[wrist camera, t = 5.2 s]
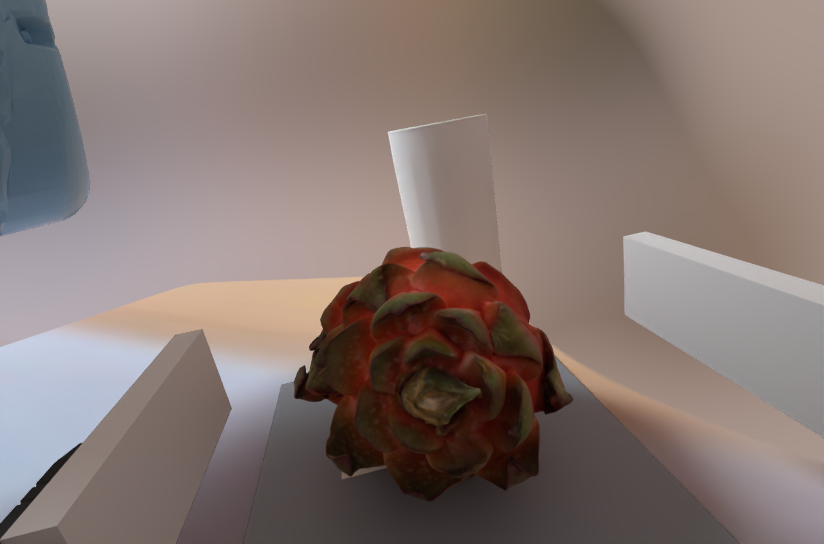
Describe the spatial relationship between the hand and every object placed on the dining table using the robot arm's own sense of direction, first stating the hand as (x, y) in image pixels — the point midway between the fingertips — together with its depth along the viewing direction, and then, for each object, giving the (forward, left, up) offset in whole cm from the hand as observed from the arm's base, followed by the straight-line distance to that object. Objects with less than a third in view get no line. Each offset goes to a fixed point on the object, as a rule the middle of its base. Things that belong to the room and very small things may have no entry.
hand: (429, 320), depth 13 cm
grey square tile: (0, +2, -6) cm, 7 cm away
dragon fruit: (0, +2, -6) cm, 7 cm away
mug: (+5, +19, -7) cm, 21 cm away
